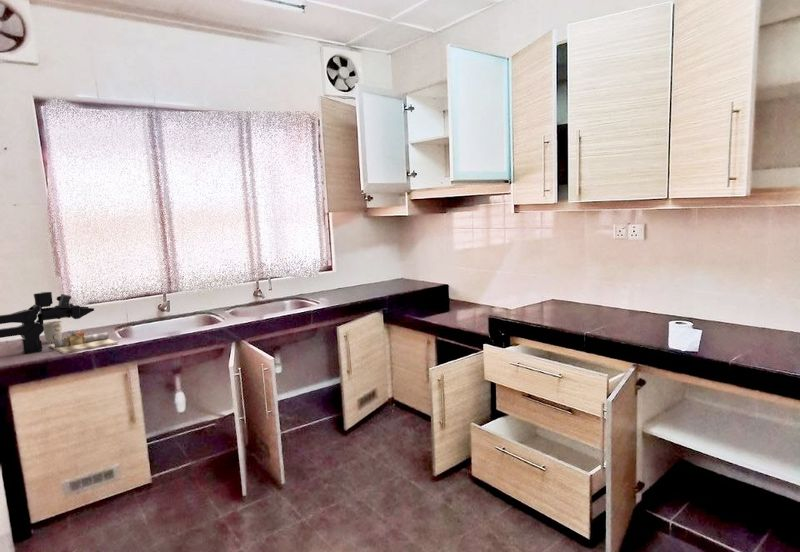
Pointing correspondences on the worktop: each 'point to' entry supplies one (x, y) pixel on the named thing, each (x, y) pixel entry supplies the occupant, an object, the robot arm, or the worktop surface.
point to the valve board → (84, 346)
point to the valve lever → (77, 333)
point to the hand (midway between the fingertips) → (91, 308)
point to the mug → (52, 331)
